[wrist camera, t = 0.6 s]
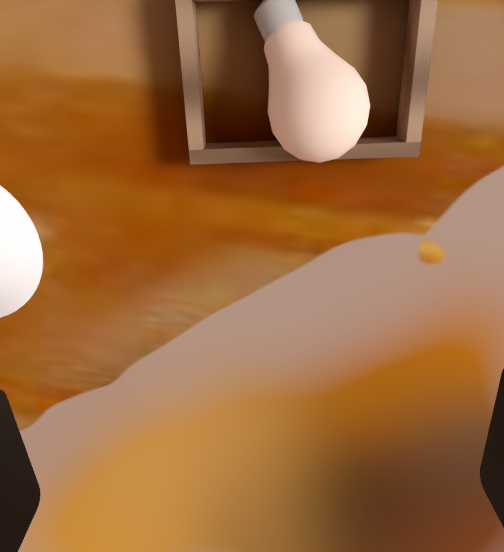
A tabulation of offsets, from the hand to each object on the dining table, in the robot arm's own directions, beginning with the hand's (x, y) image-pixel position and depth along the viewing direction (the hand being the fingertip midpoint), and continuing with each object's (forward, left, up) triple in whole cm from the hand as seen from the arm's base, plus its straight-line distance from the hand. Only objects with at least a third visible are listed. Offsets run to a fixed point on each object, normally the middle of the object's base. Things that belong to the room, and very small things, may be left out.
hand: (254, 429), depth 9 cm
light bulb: (-5, +4, -29) cm, 29 cm away
